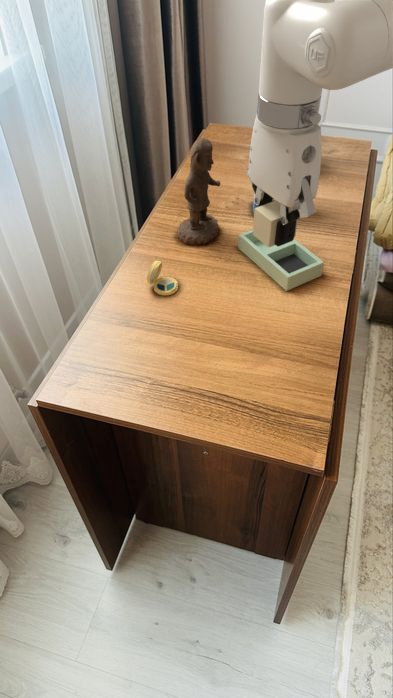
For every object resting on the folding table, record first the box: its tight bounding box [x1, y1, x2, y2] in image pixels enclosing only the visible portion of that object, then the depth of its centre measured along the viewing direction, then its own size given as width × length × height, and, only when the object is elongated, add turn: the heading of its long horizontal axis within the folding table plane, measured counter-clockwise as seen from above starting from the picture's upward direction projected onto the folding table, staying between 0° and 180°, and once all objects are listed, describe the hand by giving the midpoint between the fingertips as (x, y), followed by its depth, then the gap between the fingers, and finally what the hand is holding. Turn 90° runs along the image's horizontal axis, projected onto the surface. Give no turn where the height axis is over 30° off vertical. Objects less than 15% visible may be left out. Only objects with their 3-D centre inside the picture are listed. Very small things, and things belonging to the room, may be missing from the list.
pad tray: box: [237, 229, 325, 292], centre depth 94 cm, size 8×15×3 cm, turn 31°
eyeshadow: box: [146, 260, 179, 296], centre depth 89 cm, size 4×5×5 cm
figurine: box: [177, 137, 221, 246], centre depth 94 cm, size 9×8×20 cm
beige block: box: [252, 200, 299, 247], centre depth 73 cm, size 4×5×4 cm
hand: (274, 233), depth 75 cm, fingers closed on beige block, 4 cm apart
